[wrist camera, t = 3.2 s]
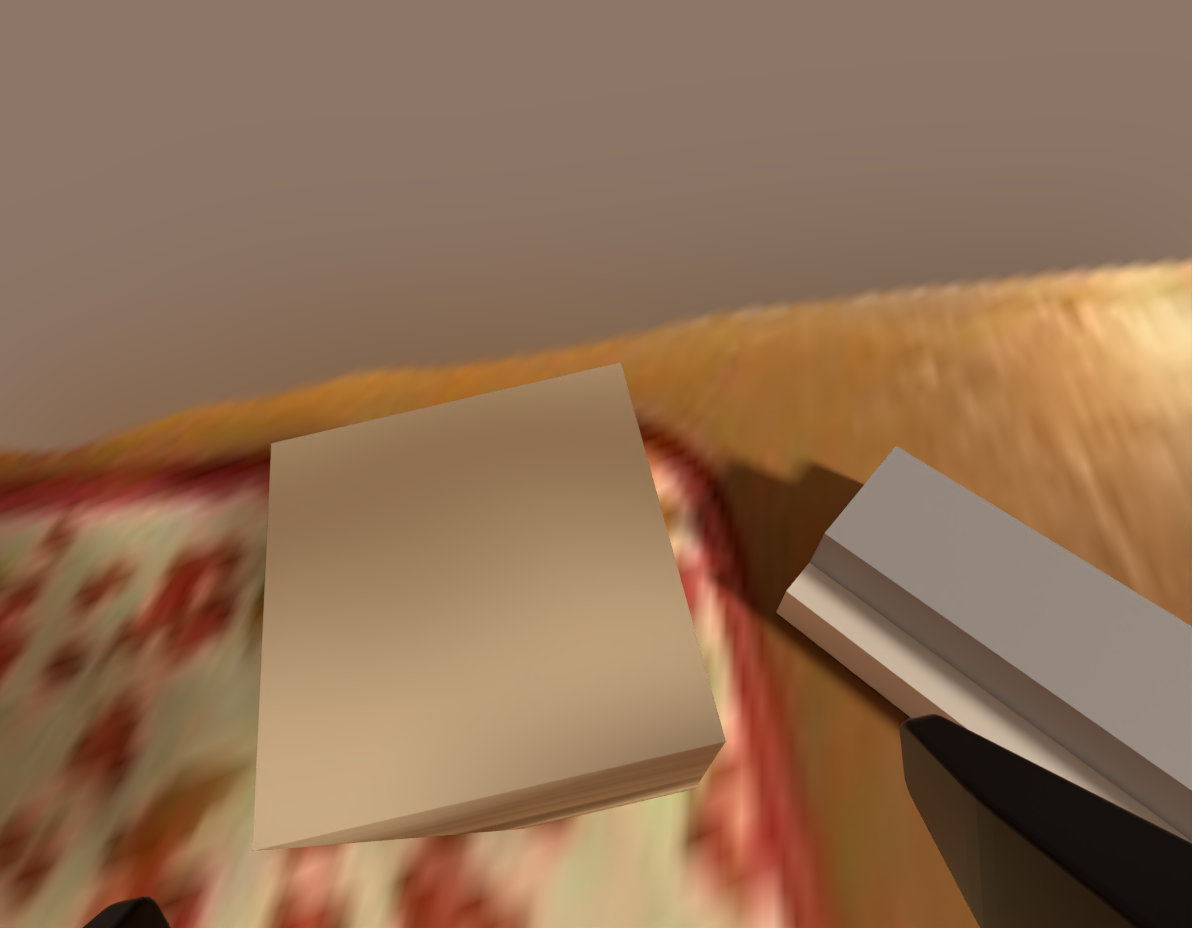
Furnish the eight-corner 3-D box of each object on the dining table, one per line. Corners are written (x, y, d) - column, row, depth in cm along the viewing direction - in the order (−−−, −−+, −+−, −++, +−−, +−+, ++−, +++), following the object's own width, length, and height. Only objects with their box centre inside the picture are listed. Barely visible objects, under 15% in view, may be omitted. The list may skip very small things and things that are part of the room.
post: (695, 788, 17) (725, 741, 6) (521, 828, 17) (253, 850, 6) (652, 616, 19) (620, 362, 8) (498, 651, 19) (270, 443, 8)
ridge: (1571, 939, 14) (1882, 982, 10) (1499, 1178, 12) (1832, 1324, 9) (875, 488, 20) (918, 418, 16) (775, 612, 18) (798, 564, 15)
